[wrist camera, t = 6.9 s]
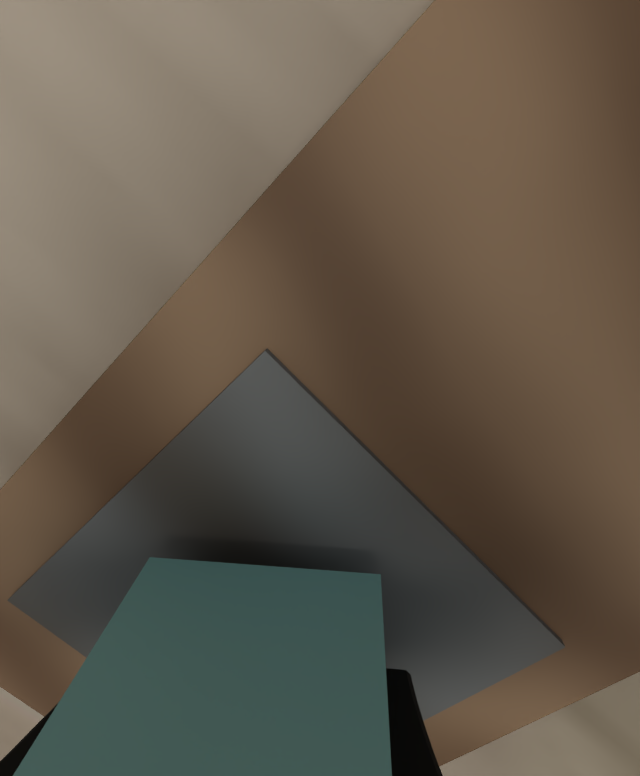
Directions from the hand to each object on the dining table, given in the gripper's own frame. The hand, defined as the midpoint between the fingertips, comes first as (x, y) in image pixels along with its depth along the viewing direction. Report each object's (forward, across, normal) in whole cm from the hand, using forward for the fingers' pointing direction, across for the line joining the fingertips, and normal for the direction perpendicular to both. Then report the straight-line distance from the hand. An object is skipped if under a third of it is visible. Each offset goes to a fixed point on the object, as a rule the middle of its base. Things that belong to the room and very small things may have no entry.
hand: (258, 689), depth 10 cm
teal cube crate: (+1, 0, 0) cm, 1 cm away
